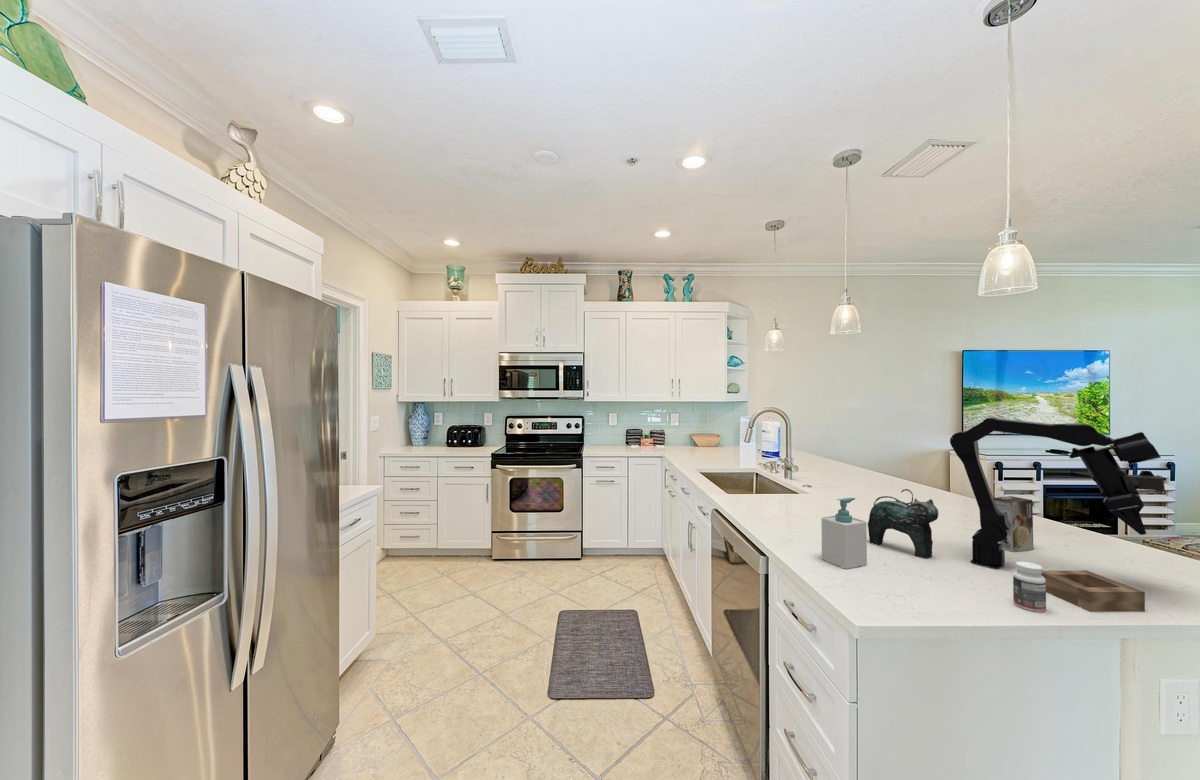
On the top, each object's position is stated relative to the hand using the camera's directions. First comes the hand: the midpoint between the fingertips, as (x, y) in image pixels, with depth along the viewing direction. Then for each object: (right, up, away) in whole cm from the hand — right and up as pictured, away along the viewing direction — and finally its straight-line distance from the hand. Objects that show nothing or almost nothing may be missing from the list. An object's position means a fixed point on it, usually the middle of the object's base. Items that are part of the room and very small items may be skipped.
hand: (1142, 530), depth 114 cm
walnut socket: (-15, -16, -2) cm, 22 cm away
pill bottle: (-33, -17, -5) cm, 37 cm away
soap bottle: (-62, -17, +23) cm, 68 cm away
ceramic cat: (-38, -17, +34) cm, 54 cm away
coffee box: (0, -17, +35) cm, 39 cm away
